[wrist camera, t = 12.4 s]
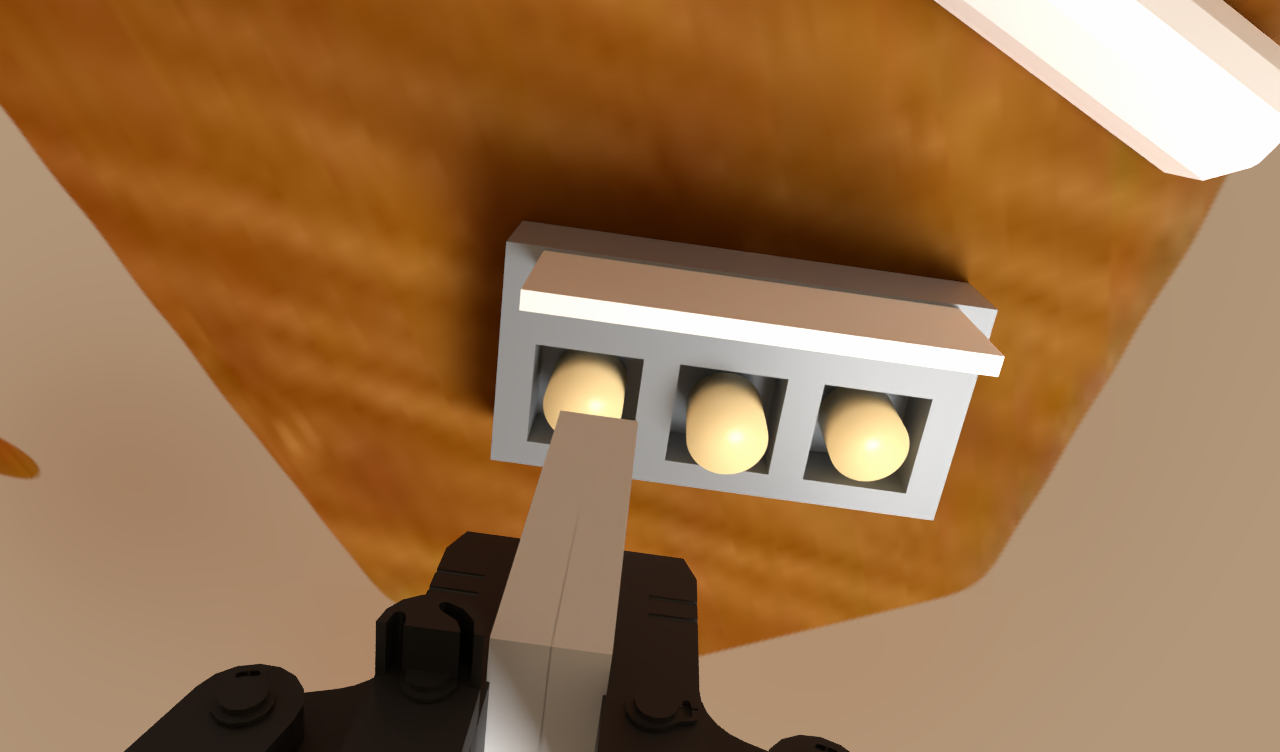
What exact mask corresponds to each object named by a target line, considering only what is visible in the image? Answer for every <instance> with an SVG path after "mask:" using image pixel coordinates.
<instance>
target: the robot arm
mask: <svg viewBox="0 0 1280 752" xmlns="http://www.w3.org/2000/svg"><path fill="white" fill-rule="evenodd" d="M637 428H638V421H634V420H626V419H619V418H612V417H605V416H597V415H590V414H583V413H576V412H568V411H561V410H560V414H559V417H558V420H557V423H556V426H555V430H554V433H553V436H552V439H551V443H550V446H549V449H548V452H547V455H546V459H545V462H544V465H543V468H542V472H541V475H540V478H539V481H538V484H537V488H536V491H535V494H534V497H533V500H532V504H531V507H530V510H529V513H528V517H527V520H526V523H525V526H524V529H523V533H522V536H521V539H519V538H512V537H505V536H497V535H490V534H483V533H476V532H468V531H467V532H466V533H465V534H463V535H462V536H461V537H460V538H458V539H457V540H456V541H455V542H453V543H452V544H451V545H449V546H448V547H447V548H446V550H445V553H444V555H443V557H442V559H441V562H440V564H439V566H438V568H437V573H435V575H434V577H433V579H432V582H431V584H430V588H429V590H428V591H427V593H426V595H420V596H416V597H412V598H408V599H403V600H402V601H400V602H398V603H396V604H394V605H393V606H391V607H389V608H387V609H386V610H385V611H384V613H383V614H382V615H381V616H380V617H379V618H378V620H377V621H376V657H375V658H376V659H375V676H374V678H372V679H370V680H368V681H365V682H363V683H360V684H357V685H355V686H350V687H345V688H340V689H333V690H324V691H315V692H307V693H304V689H303V687H302V685H301V684H300V682H299V681H298V679H297V677H296V676H295V675H293V674H291V673H290V672H288V671H286V670H285V669H283V668H281V667H276V666H270V665H263V664H255V665H245V666H237V667H234V668H231V669H228V670H225V671H223V672H220V673H217V674H215V675H213V676H212V677H210V678H209V679H207V680H206V681H204V682H203V683H201V684H200V685H198V686H197V687H195V688H194V689H193V690H192V691H191V692H190V693H189V694H188V695H186V696H185V697H184V698H183V699H182V700H181V701H180V702H179V703H178V704H176V705H175V706H174V707H173V708H172V709H171V710H170V711H169V712H168V713H166V714H165V715H164V716H163V717H162V718H161V719H160V720H159V721H157V722H156V723H155V724H154V725H153V726H152V727H151V728H150V729H149V730H148V731H147V732H145V733H144V734H143V735H142V736H141V737H140V738H139V739H137V740H136V741H135V742H134V743H133V744H132V745H131V746H130V747H129V748H128V749H126V750H125V751H124V752H768V751H766V750H763V749H761V748H759V747H756V746H754V745H751V744H749V743H746V742H744V741H742V740H740V739H738V738H736V737H734V736H732V735H730V734H729V733H728V732H726V731H725V730H724V729H722V728H721V727H720V726H718V725H717V724H716V723H715V722H714V720H713V719H712V718H711V717H710V716H709V715H708V713H707V712H706V710H705V708H704V705H703V703H702V702H701V697H700V692H699V665H698V663H699V662H698V661H699V660H698V624H697V620H698V618H697V580H696V578H695V576H694V575H693V573H692V572H691V570H690V568H689V567H688V565H687V564H686V562H685V560H684V559H681V558H674V557H667V556H659V555H652V554H645V553H637V552H630V551H624V545H625V536H626V527H627V518H628V509H629V500H630V491H631V482H632V473H633V464H634V455H635V446H636V437H637ZM769 752H849V751H848V750H846V749H845V748H844V747H842V746H841V745H839V744H836V743H834V742H831V741H829V740H826V739H824V738H821V737H815V736H805V735H797V736H793V737H789V738H785V739H782V740H780V741H779V742H778V743H777V744H775V745H774V746H773V747H772V748H770V749H769Z"/></svg>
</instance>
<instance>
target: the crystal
mask: <svg viewBox="0 0 1280 752" xmlns="http://www.w3.org/2000/svg"><path fill="white" fill-rule="evenodd" d="M934 1H936V2H937V3H938V4H940V5H941V6H942V7H944V8H945V9H946V10H948V11H949V12H950V13H952V14H953V15H954V16H956V17H957V18H958V19H960V20H961V21H962V22H964V23H965V24H966V25H968V26H969V27H970V28H972V29H973V30H974V31H976V32H977V33H978V34H980V35H981V36H982V37H984V38H985V39H987V40H988V41H989V42H991V43H992V44H993V45H995V46H996V47H997V48H999V49H1000V50H1001V51H1003V52H1004V53H1005V54H1007V55H1008V56H1009V57H1011V58H1012V59H1013V60H1015V61H1016V62H1017V63H1019V64H1020V65H1021V66H1023V67H1024V68H1025V69H1027V70H1028V71H1029V72H1031V73H1032V74H1033V75H1035V76H1036V77H1037V78H1039V79H1040V80H1041V81H1043V82H1044V83H1045V84H1047V85H1048V86H1049V87H1051V88H1052V89H1053V90H1055V91H1056V92H1057V93H1059V94H1060V95H1061V96H1063V97H1064V98H1065V99H1067V100H1068V101H1069V102H1071V103H1072V104H1073V105H1075V106H1076V107H1077V108H1079V109H1080V110H1081V111H1083V112H1084V113H1085V114H1087V115H1088V116H1089V117H1091V118H1092V119H1093V120H1095V121H1096V122H1098V123H1099V124H1100V125H1102V126H1103V127H1104V128H1106V129H1107V130H1108V131H1110V132H1111V133H1112V134H1114V135H1115V136H1116V137H1118V138H1119V139H1120V140H1122V141H1123V142H1124V143H1126V144H1127V145H1128V146H1130V147H1131V148H1132V149H1134V150H1135V151H1136V152H1138V153H1139V154H1140V155H1142V156H1143V157H1144V158H1146V159H1147V160H1148V161H1150V162H1151V163H1152V164H1154V165H1155V166H1156V167H1158V168H1159V169H1160V170H1162V171H1163V172H1165V173H1170V174H1174V175H1179V176H1184V177H1188V178H1193V179H1198V180H1202V181H1203V180H1207V179H1211V178H1214V177H1218V176H1222V175H1225V174H1229V173H1233V172H1236V171H1240V170H1244V169H1247V168H1251V167H1253V166H1255V165H1256V164H1258V163H1260V162H1261V161H1262V160H1263V159H1264V158H1265V157H1266V156H1267V155H1268V154H1269V153H1270V152H1271V151H1272V150H1273V149H1274V148H1275V147H1276V146H1277V145H1278V144H1279V143H1280V46H1279V45H1278V44H1276V43H1275V42H1274V41H1273V40H1271V39H1270V38H1269V37H1268V36H1266V35H1265V34H1264V33H1263V32H1261V31H1260V30H1259V29H1258V28H1256V27H1255V26H1254V25H1253V24H1252V23H1250V22H1249V21H1248V20H1247V19H1245V18H1244V17H1243V16H1242V15H1240V14H1239V13H1238V12H1237V11H1235V10H1234V9H1233V8H1232V7H1230V6H1229V5H1228V4H1227V3H1225V2H1224V1H1223V0H934Z"/></svg>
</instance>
